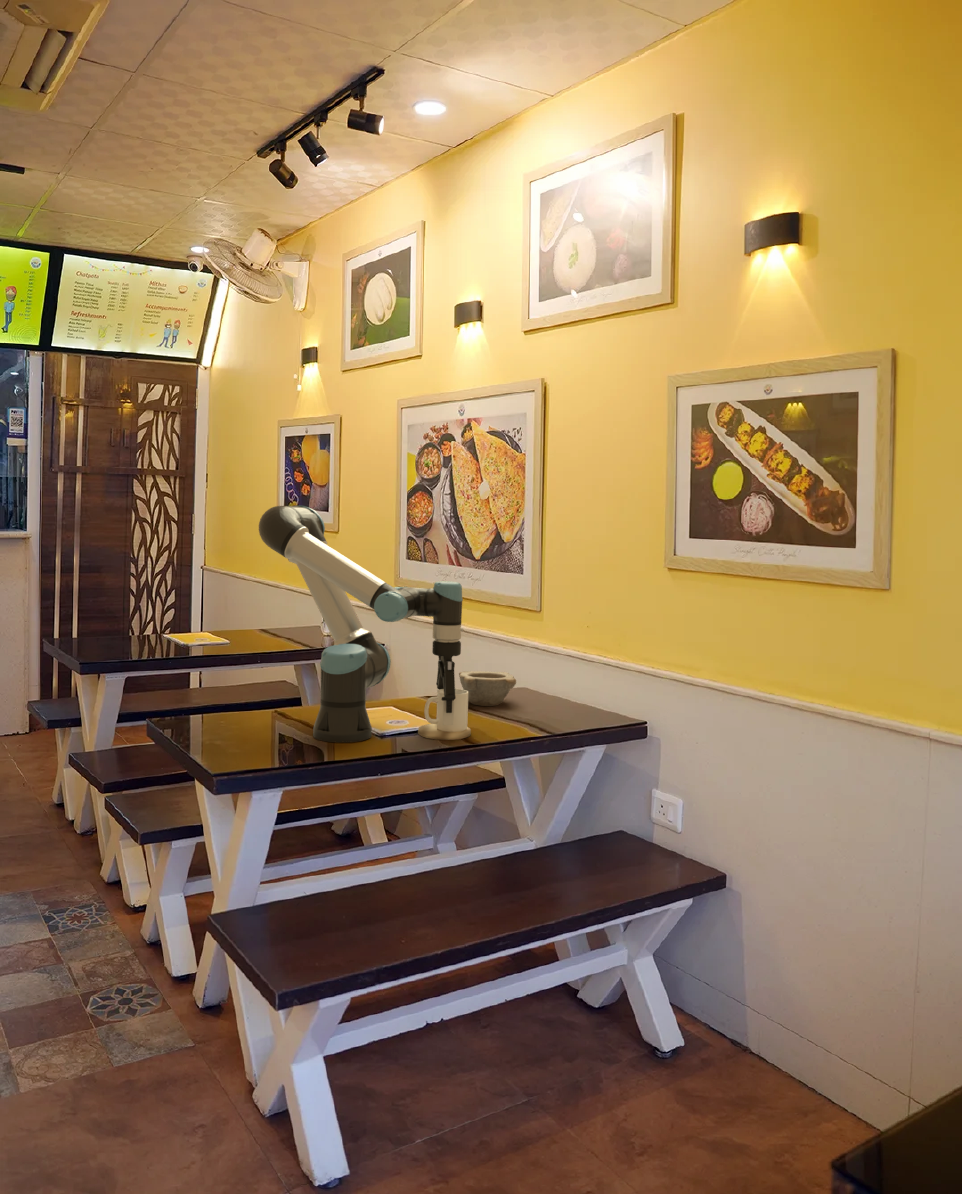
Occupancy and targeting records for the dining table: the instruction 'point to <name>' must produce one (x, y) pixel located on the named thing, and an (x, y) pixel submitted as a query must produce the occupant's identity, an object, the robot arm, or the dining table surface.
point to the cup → (459, 711)
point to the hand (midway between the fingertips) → (444, 719)
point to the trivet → (441, 733)
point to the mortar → (486, 686)
